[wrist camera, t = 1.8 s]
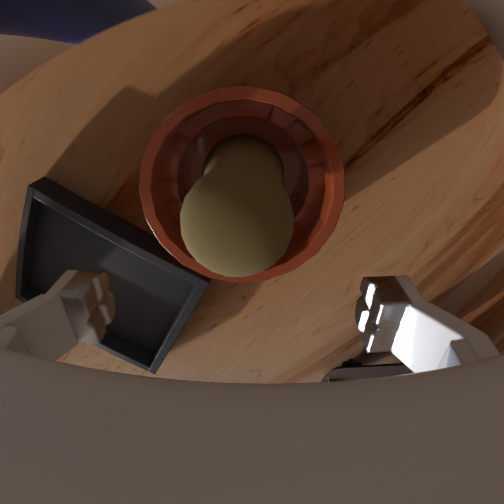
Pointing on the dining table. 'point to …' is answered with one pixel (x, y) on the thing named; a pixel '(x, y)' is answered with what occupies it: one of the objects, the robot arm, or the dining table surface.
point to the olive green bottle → (238, 208)
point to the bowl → (258, 124)
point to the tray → (107, 270)
